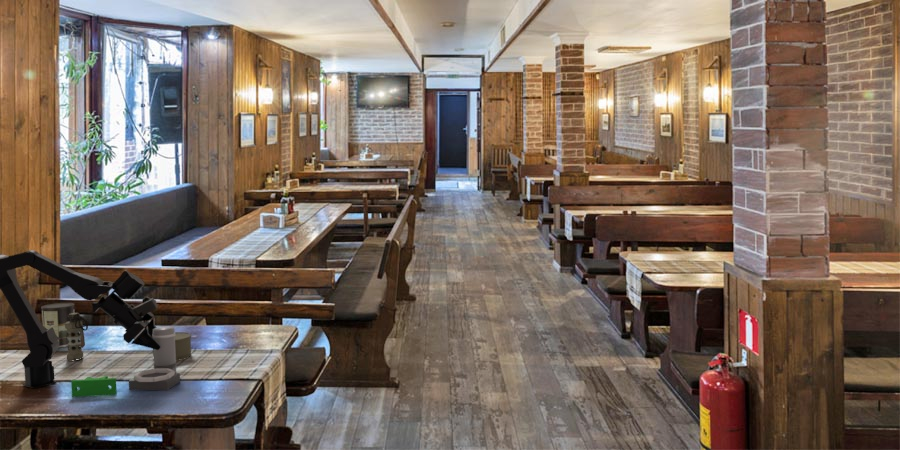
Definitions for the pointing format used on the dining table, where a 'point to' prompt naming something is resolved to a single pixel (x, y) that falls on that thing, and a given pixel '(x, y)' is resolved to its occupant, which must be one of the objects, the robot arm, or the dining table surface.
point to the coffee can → (57, 319)
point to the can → (182, 345)
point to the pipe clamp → (94, 387)
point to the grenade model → (75, 336)
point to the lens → (165, 348)
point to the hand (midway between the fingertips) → (161, 344)
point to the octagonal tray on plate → (154, 379)
